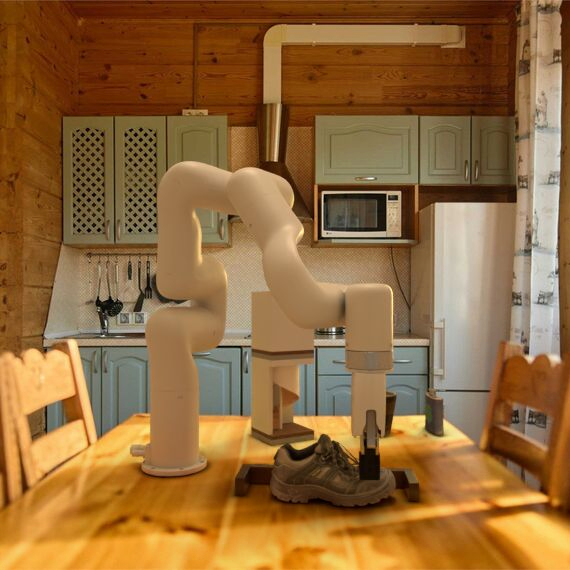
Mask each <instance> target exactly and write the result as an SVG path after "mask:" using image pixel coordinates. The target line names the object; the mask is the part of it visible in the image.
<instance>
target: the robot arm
mask: <svg viewBox="0 0 570 570" xmlns="http://www.w3.org/2000/svg"><path fill="white" fill-rule="evenodd" d="M156 197H157V198H156V208H157V218H158V237H157V249H156V251H157V253H156V271H155V283H156V289H157V291H158V293H159V294H160V295H161V296H162V297H164V298H166V299H168V300H175V301H189V306H184V305H183V306H165V307H163V308H160V309H158V310H155V312H153V313H152V314H151V315H150V316H149V317H148V319H147V321H146V323H145V327H144V336H145V338H144V339H145V343H146V348H147V354H148V361H149V389H150V390H149V391H150V392H149V394H150V395H149V396H150V397H149V399H150V400H149V412H150V413H149V443H146V444H144V445H143V444H133V443H132V444H131V445H130V447H129V454H130V455H131V457H133V458H139V457H142V458H143V459H144V460H142V462H141V470H142V471H143V473H146V475H151V476H156V477H180V476H187V475H192V474H195V473H199V472H200V471H202V470H204V469H205V468H206V467H207V464H208V462H207V458H206V457H205V456H204V455H202V454H200V375H199V370H198V367H197V364H196V362H195V360H194V359H195V358H194V357H193V354H194V353H201V352H207V351H208V352H209V351H212V350H214V349H216V348H217V347H218V346H220V344H221V342H222V341H223V338H224V336H225V331H226V325H227V309H228V308H227V306H228V291H229V289H228V288H229V281H228V275H227V271H226V268H225V266H224V265H223V263H222V262H221V261H220V260H219V259H218V258H216V257H214V256H212V255H208V254H202V243H203V242H202V240H203V232H202V226H201V223H200V222H201V221H200V219H199V217H198V215H197V212H196V210H197V209H203V210H207V211H211V212H216V213H220V214H225V215H230V216H238V217H239V218H240V220H241V222H242V223H243V225H244V226H245V228H246V230H247V231H248V232H249V234H250V235H251V237H252V238H253V240H254V242H255V243H256V245H257V246H258V248H259V249H260V251H261V254H262V257H261V265H262V270H263V277H264V280H265V283H266V286H267V288H268V291H270V292H271V293H272V295H273V297H274V298H275V300H276V302H277V303H278V305H279V306H280V308H281V309H282V311H283V312H284V314H285V315H286V316H287V317H288V319H289V320H290V321H291V322H293V323H294V324H295V325H297V326H298V327H300V328H303V329H314V330H318V329H319V330H321V329H333V328H334V329H335V328H342V327H344V330H345V331H344V345H345V346H344V370H345V372H348V373H351V380H350V429H351V430H350V431H351V436H352V437H353V438H354V439H357V437H359V451H358V459H359V460H358V462H359V465H358V466H359V478H360V479H361V480H380V467H381V454H380V440H381V439H383V438H385V437H384V435H385V416H386V391H387V374H391V373H393V372H394V294H393V290H392V287H390V285H388V284H385V283H376V282H375V283H373V282H372V283H371V282H370V283H365V282H364V283H352V284H349V285H348V284H344V283H343V284H342V283H334V282H323V281H316V280H315V278H314V277H313V276H312V275H311V273H310V271H309V270H308V269H307V267H306V265H305V264H304V262H303V261H302V259H301V256H300V255H299V251H298V248H297V245H298V244H299V243H300V241H301V240H302V239H303V236H304V233H305V229H304V225H303V223H302V221H301V220H300V219H299V218H298V217H297V215H296V214H295V212H294V211H293V206H294V202H295V194H294V190H293V188H292V186H291V184H290V182H288V181H287V179H285V178H283V177H282V176H280V175H279V174H278V175H277V174H276V173H272V172H270V171H267V170H264V169H261V168H258V167H253V166H247V167H242V168H240V169H237V170H236V171H234V172H232V171H228V170H225V169H222V168H220V167H216V166H214V165H211V164H209V163H205V162H200V161H194V160H186V161H185V160H184V161H181V162H178V163H176V164H173V165H172V166H171V167H170V168H168V170H167V171H166V172H165V173H164V174H163V176H162V177H161V180H160V182H159V184H158V188H157V195H156ZM379 436H380V437H379Z"/></svg>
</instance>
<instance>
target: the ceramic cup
mask: <svg viewBox="0 0 570 570" xmlns="http://www.w3.org/2000/svg"><path fill="white" fill-rule="evenodd" d="M397 395H398V394H397V393H396V392H394V391H391V390H386V416H385V435H384V437H383V438H385V437H388V436H390V434H391V432H392V426H393V421H394V414H395V409H396V405H397V398H398V397H397ZM379 438H380V436H379Z"/></svg>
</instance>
